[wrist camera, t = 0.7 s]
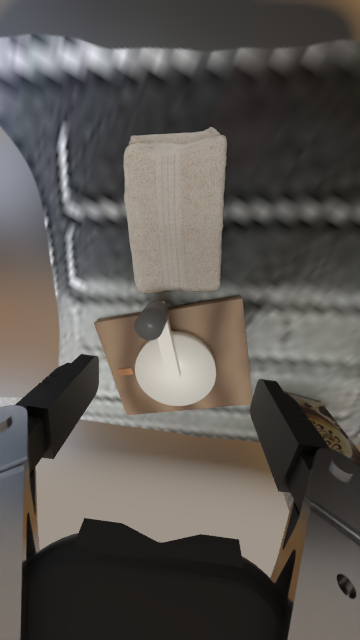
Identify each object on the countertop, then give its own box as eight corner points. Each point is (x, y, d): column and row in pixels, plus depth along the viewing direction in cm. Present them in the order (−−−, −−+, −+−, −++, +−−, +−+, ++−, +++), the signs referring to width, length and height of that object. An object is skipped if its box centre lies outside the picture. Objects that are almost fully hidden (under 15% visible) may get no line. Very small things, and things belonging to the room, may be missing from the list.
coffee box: (322, 401, 34) (423, 527, 19) (304, 428, 36) (380, 561, 21) (270, 386, 34) (329, 500, 18) (255, 414, 36) (295, 537, 21)
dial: (219, 393, 33) (226, 438, 25) (148, 400, 34) (134, 444, 27) (202, 287, 27) (204, 303, 19) (119, 302, 29) (90, 322, 21)
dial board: (240, 295, 29) (242, 298, 27) (250, 397, 35) (253, 404, 33) (98, 319, 32) (93, 323, 30) (129, 408, 38) (126, 415, 36)
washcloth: (225, 134, 23) (229, 118, 20) (221, 289, 29) (223, 294, 26) (124, 144, 24) (114, 130, 21) (141, 291, 30) (135, 296, 28)
